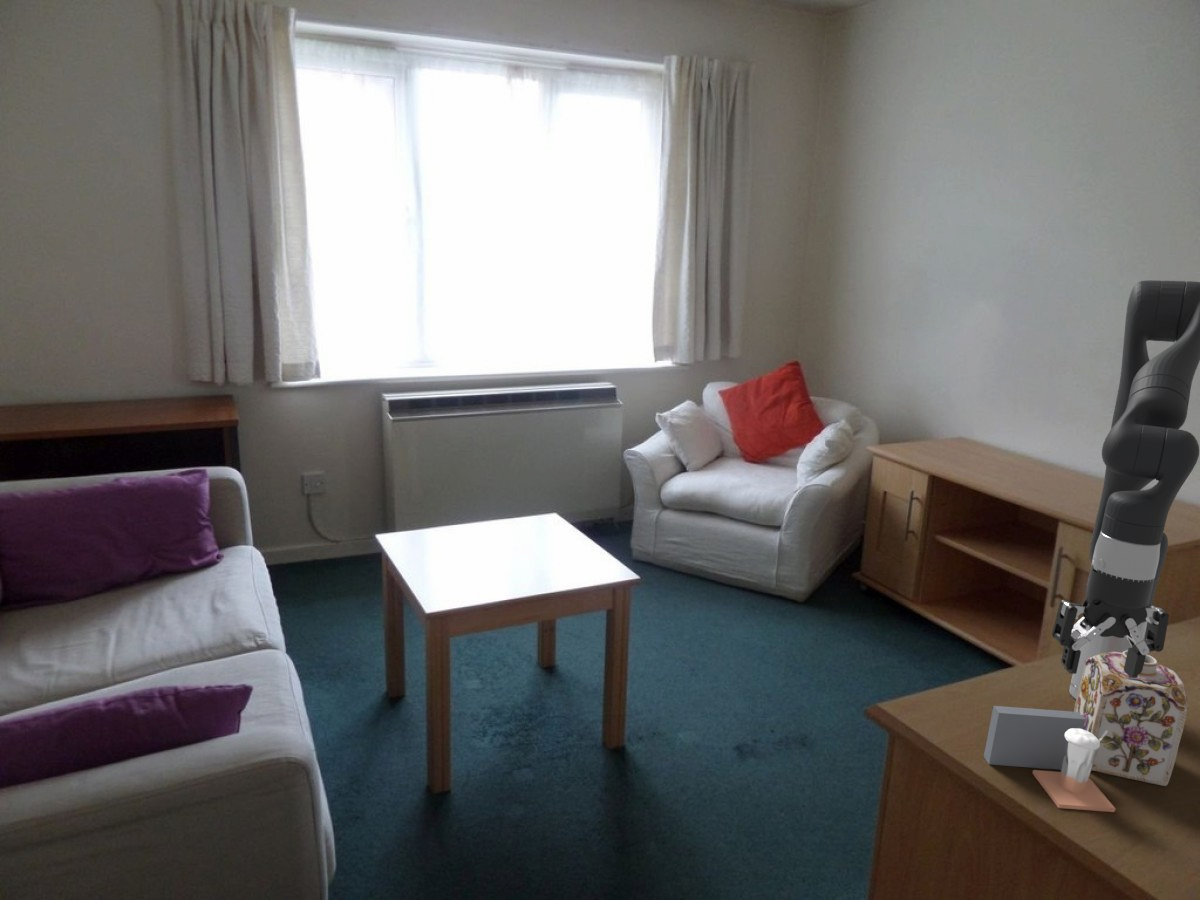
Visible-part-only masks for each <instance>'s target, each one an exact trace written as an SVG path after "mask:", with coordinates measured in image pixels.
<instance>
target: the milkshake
mask: <svg viewBox="0 0 1200 900" xmlns="http://www.w3.org/2000/svg"><path fill="white" fill-rule="evenodd" d="M1107 733H1108V731H1107V730H1106V731H1105V733H1104V734H1103V735H1102V736H1101V737H1100V739H1099V740H1098V739H1097V738H1096V737H1095V736H1094V735H1093V734H1092V733H1090V732H1088V731H1086V730H1083V729H1079V728H1071V729H1068V730H1067V731H1066V732H1065V734H1064V746H1063V759H1062V767H1061V770H1060V772H1061V775H1060V785H1061V786H1062V787H1063V788H1064V789H1065V790H1067V791H1069V792H1071V793H1077V794H1080V793H1083V792H1084V790H1085V787H1086V784H1087V781H1088V778H1090V776H1091V775H1090V774H1091V772H1092V770H1091V769H1092V766H1093V763H1094V760H1095V757H1096V755H1097V752H1098V749H1099V747H1100V741H1101V740H1102V739H1103V737H1104V736H1105V735H1106V734H1107Z"/></svg>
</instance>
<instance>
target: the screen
mask: <svg viewBox="0 0 1200 900" xmlns="http://www.w3.org/2000/svg"><path fill="white" fill-rule="evenodd" d="M1084 722H1085V718H1084V717H1083V716H1082V715H1081V714H1080V713H1079V712H1074V711H1069V710H1057V709H1055V710H1054V709H1041V708H1030V707H1029V708H1028V707H1018V706H1017V707H1014V706H1012V707H1011V706H1004V705H1003V706H1002V705H1001V706H1000V705H993V708H992V711H991V717H990V723H989V728H988V732H987V737H986V744H985V749H984V753H983V758H984V759H985V761H986V762H987V764H988V765H993V766H1003V767H1004V766H1007V767H1020V768H1032V769H1046V770H1060V771H1061V767H1062V759H1063V746H1064V734H1065V732H1066V731H1067V730H1068V729H1071V728H1079V729H1083V727H1084Z"/></svg>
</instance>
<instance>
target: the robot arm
mask: <svg viewBox="0 0 1200 900" xmlns="http://www.w3.org/2000/svg"><path fill="white" fill-rule="evenodd" d="M1127 302H1128V303H1127V307H1126V312H1125V313H1126V315H1125V324H1124V325H1125V326H1124V335H1123V346H1122V348H1123V349H1122V356H1121V357H1122V360H1121V368H1120V369H1121V371H1120V378H1119V384H1118V390H1117V396H1116V400H1115V405H1114V411H1113V416H1112V420H1111V425H1110V430H1109V432H1108V433H1107V435H1106V437H1105V439H1104V441H1103V444H1102V447H1101V459H1102V462H1103V463H1104V465H1105V470H1104V471H1105V472H1104V478H1103V479H1104V481H1103V487H1102V491H1101V496H1100V500H1099V506H1098V509H1097V514H1096V517H1095V518H1096V519H1095V522H1094V527H1093V532H1092V535H1091V540H1090V545H1089V555H1088V556H1089V560H1090V561H1089V562H1090V564H1091V565H1090V569H1089V574H1088V578H1087V584H1086V589H1085V590H1086V591H1085V592H1086V593H1085V594H1086V596H1085V599H1084V600H1083V602H1082V603H1073V602H1070V601H1069V600H1068V599H1062V600H1061V601H1059V605H1058V610H1057V613H1056V617H1055V621H1054V623H1053V628H1052V631H1051V636H1052V638H1053V639H1054V640H1055V641H1057V642H1058V643H1059V644H1060V645H1061V646H1064V647H1063V651H1062V656H1061V665H1062V666H1063V668H1064V669H1065V671H1067V673H1068V674H1070V675H1071V674H1072V676H1071V680H1070V686H1069V688H1068V689H1069V691H1068V692H1069V695H1071V697H1072V698H1073V699H1075V700H1076V699H1077V695H1078V691H1079V687H1080V682H1081V678H1082V675H1083V670H1084V666H1085V661H1086V660H1088V658H1091V657H1093V656H1095V655H1098V654H1102V653H1109V652H1121V653H1122V652H1124V651H1126V650H1128V653H1127V657H1126V662H1125V666H1124V671H1125V673H1126V674H1127V675H1129V676H1130V677H1133V678H1137V677H1138V674H1140V673H1141V672H1142V670H1143V664H1144V661H1145V657H1146V655H1149V653H1151V652H1157V653H1158V652H1159V653H1160V652H1162V651H1163V650H1164V647H1165V641H1166V637H1167V629H1168V624H1169V619H1170V618H1169V617H1170V615H1169V613H1168V612H1166V611H1165V610H1164V609H1162V608H1161V607H1160V606H1159V605H1153V602H1154V598H1155V595H1156V590H1157V586H1158V582H1159V580H1160V576H1161V573H1162V570H1163V567H1164V564H1165V561H1166V556H1167V553H1168V548H1169V538H1168V536H1167V534H1166V533H1165V525H1166V522H1167V518H1168V515H1169V512H1170V510H1171V507H1172V505H1173V502H1174V500H1175V499H1176V497H1177V495H1178V493H1179V491H1180V490H1181V488H1182V486H1184V484H1185V482H1186V480H1187V479H1188V478H1189V476H1190V475H1191V473H1192V471H1193V470H1194V468H1195V467H1196V465H1197V463H1198V459H1199V457H1200V445H1199V443H1198V440H1197V438H1196V436H1195V435H1194V434H1193V433H1191V432H1190V431H1187V430H1184V429H1181V427H1182V426H1183V425H1184V424H1185V422H1186V419H1187V417H1188V416H1187V415H1188V410H1189V402H1190V397H1191V390H1192V389H1191V388H1192V384H1193V380H1194V377H1195V374H1196V372H1197V371H1196V370H1197V369H1198V366H1199V363H1200V281H1194V280H1193V281H1192V280H1191V281H1190V280H1189V281H1185V280H1158V279H1157V280H1154V279H1153V280H1152V279H1151V280H1149V279H1148V280H1147V279H1146V280H1141V281H1138V282H1136V283H1135V285H1133V287H1132V289H1131V291H1130V294H1129V297H1128V301H1127ZM1147 341H1152V342H1153V341H1154V342H1166V343H1167V342H1168V343H1169V342H1170V343H1173V344H1172V345H1171V346H1169V347H1168V348H1166V349H1164V350H1163V351H1161V352H1160V353H1158V354H1157V355H1155V356H1154V357H1152V358H1151V359H1150V356H1149V353H1148V346H1147ZM1154 480H1156V481H1158V482H1156V484H1155V485H1153V486H1152V487H1150V488H1148V489H1144V488H1145V487H1146V486H1147V485H1149V484H1150V483H1151V482H1153V481H1154ZM1081 614H1082V615H1083V616H1082V617H1081V618H1080V619H1079V616H1080V615H1081ZM1076 620H1077V622H1075V621H1076Z"/></svg>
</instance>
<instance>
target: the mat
mask: <svg viewBox="0 0 1200 900" xmlns="http://www.w3.org/2000/svg"><path fill="white" fill-rule="evenodd" d="M1032 775H1033V776H1034V778H1035V779H1036V780H1037V781H1038V783H1039V784H1040V785H1041V787H1042V788H1043V789H1044V791H1045V792H1046V794H1047V795H1048V796H1049V798H1050V800H1052V801H1053V803H1054V804H1055V806H1056V807H1057V809H1067V810H1068V809H1070V810H1080V811H1081V810H1082V811H1093V812H1094V811H1095V812H1108V813H1109V812H1110V813H1115V811H1116V807H1115V806H1114V805H1113V803H1112V802H1110V801H1109V799H1108V798H1107V797H1106V795H1105V794H1104V793H1103V792H1102V790H1100V789H1099V787H1098V786H1097V785H1096V784H1095V783H1094V782H1093V780H1092V779H1091V778H1090V777H1089V778H1088V781H1087V784H1086V787H1085V790H1084V792H1083V793H1080V794H1077V793H1071V792H1069V791H1067V790H1065V789H1064V788H1063V787H1062V786H1061V785H1060V775H1061V771H1053V770H1040V769H1039V770H1037V769H1033V770H1032Z"/></svg>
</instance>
